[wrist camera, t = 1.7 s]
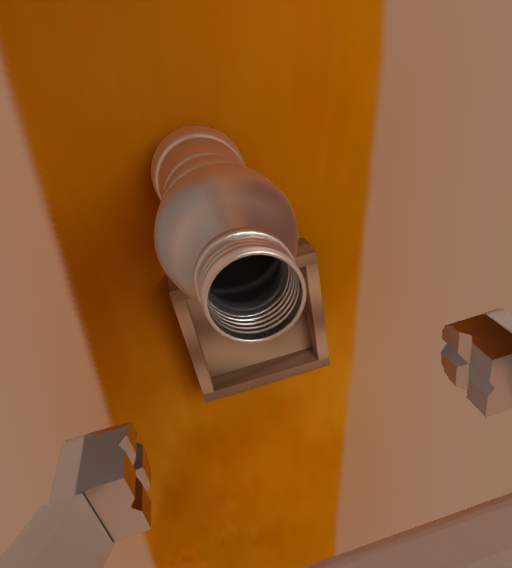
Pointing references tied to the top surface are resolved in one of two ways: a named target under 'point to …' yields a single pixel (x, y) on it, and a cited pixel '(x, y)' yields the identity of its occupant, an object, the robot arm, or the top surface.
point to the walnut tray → (258, 356)
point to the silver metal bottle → (226, 236)
